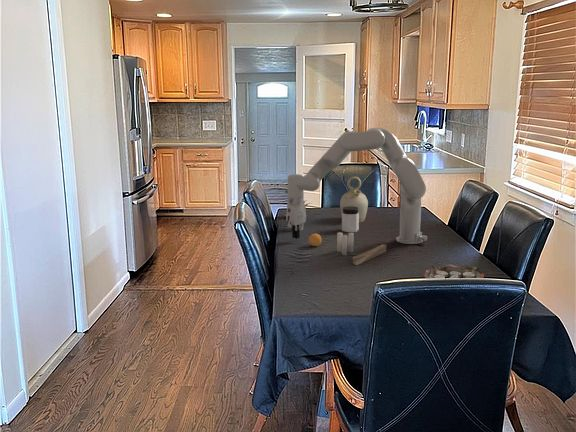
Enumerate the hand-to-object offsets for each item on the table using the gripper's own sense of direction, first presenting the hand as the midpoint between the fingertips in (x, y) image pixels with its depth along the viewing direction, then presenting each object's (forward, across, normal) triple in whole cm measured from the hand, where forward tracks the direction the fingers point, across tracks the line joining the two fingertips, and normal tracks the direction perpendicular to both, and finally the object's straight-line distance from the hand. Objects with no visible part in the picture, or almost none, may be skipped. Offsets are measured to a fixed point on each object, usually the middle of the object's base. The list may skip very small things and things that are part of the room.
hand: (295, 237), depth 255 cm
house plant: (+2, +20, +13) cm, 24 cm away
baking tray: (+2, -8, -83) cm, 83 cm away
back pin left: (+2, -2, -30) cm, 30 cm away
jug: (+2, +54, +2) cm, 54 cm away
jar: (+2, +34, -9) cm, 35 cm away
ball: (-1, 0, -12) cm, 12 cm away
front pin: (+2, 0, -26) cm, 26 cm away
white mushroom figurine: (+2, +40, +33) cm, 52 cm away
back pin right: (+2, +3, -30) cm, 30 cm away
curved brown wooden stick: (+2, 0, -42) cm, 42 cm away
